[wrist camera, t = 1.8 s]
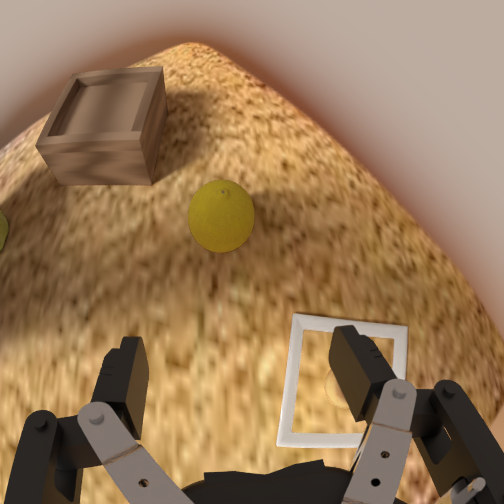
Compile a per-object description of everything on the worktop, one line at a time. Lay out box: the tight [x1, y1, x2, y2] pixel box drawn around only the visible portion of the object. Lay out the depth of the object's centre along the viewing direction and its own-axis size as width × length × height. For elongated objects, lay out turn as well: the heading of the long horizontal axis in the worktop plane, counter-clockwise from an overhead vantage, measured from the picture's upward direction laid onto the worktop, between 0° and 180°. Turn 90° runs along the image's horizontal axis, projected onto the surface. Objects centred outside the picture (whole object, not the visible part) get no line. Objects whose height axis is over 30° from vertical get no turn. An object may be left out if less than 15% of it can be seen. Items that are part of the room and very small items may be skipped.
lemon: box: [188, 180, 255, 253], centre depth 27 cm, size 6×6×8 cm
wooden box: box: [35, 66, 168, 186], centre depth 30 cm, size 11×11×8 cm
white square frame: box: [276, 313, 408, 448], centre depth 25 cm, size 12×12×5 cm
